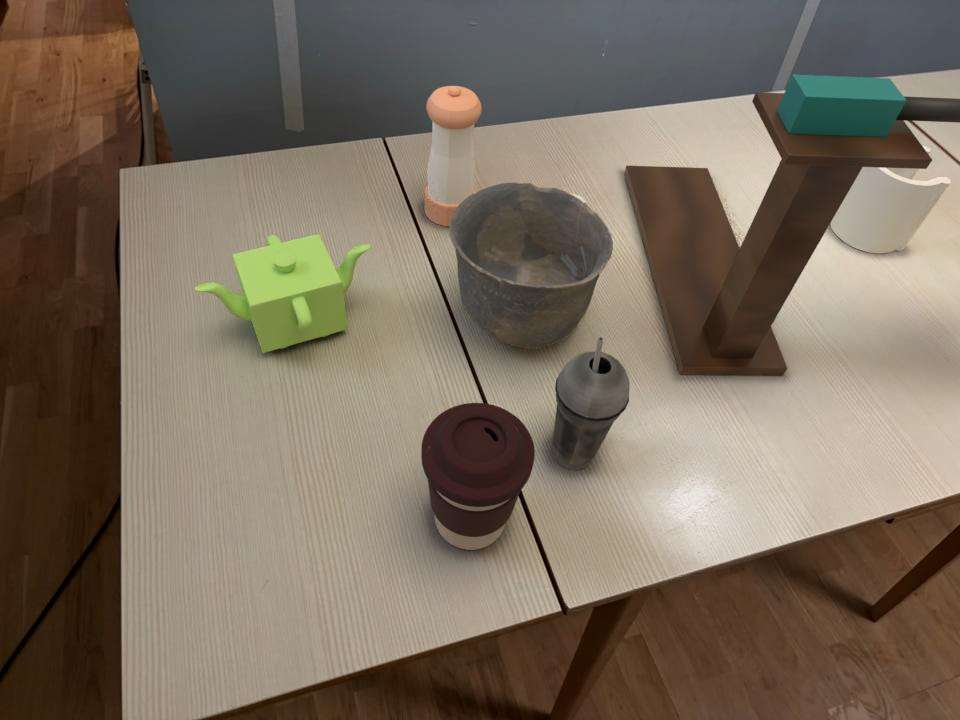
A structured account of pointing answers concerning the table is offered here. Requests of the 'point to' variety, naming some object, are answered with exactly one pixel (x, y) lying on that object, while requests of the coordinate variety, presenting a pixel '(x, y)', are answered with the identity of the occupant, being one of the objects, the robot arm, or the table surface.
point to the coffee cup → (475, 471)
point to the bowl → (528, 261)
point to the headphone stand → (748, 240)
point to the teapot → (290, 290)
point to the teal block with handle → (855, 106)
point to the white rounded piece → (886, 208)
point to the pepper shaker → (450, 151)
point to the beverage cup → (587, 405)
